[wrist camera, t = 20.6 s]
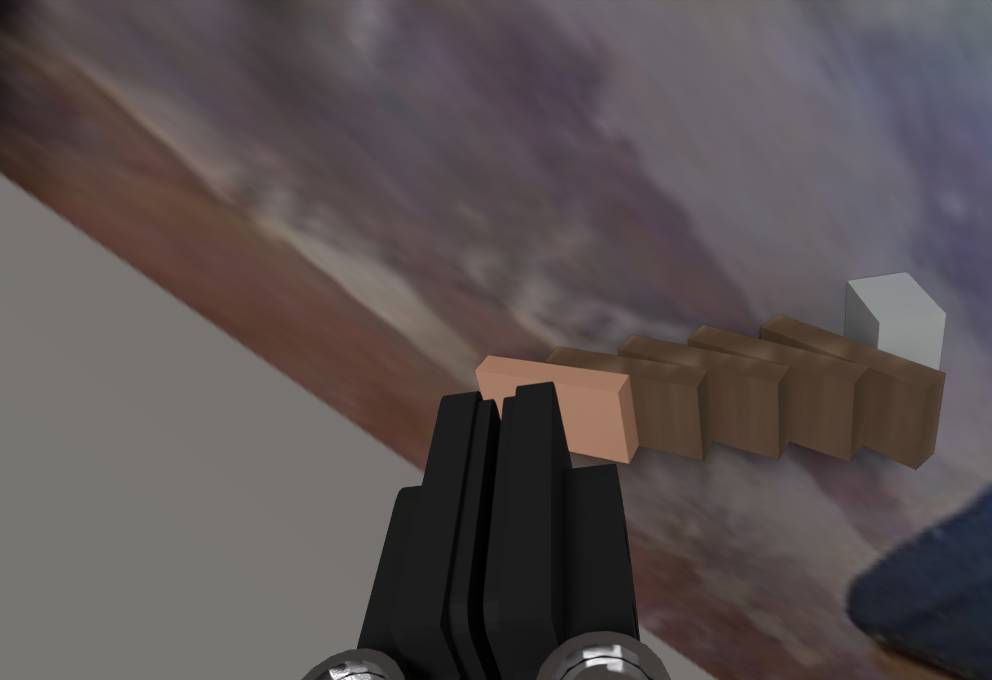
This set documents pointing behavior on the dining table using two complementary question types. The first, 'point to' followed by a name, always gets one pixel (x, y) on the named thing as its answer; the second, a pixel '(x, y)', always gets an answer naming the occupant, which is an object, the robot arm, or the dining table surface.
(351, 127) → the dining table surface
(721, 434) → the domino
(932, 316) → the block
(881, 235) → the dining table surface
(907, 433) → the domino
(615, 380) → the domino
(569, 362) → the domino
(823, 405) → the domino
